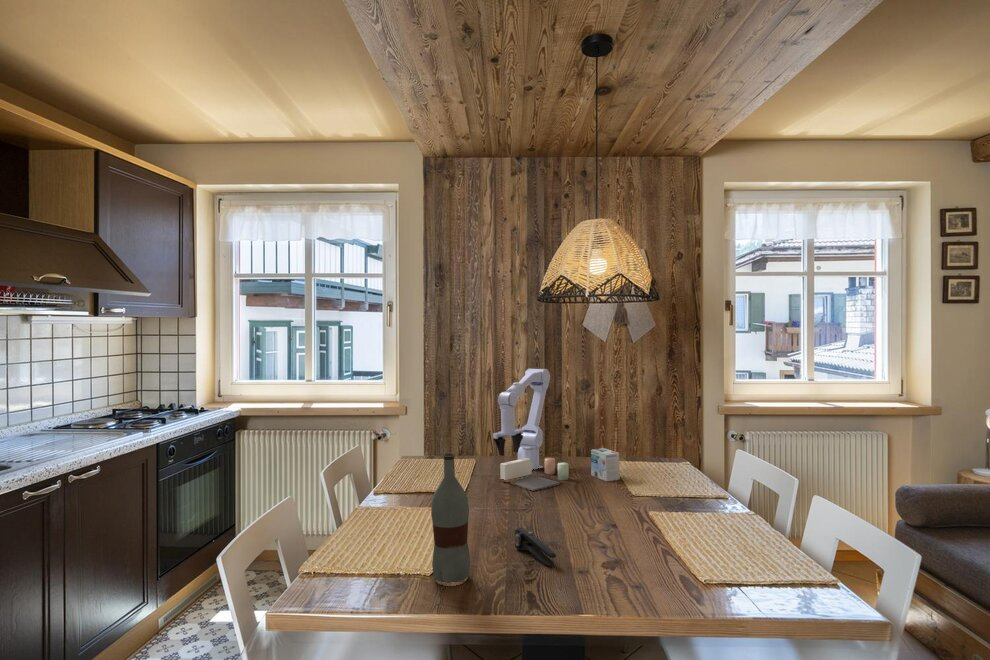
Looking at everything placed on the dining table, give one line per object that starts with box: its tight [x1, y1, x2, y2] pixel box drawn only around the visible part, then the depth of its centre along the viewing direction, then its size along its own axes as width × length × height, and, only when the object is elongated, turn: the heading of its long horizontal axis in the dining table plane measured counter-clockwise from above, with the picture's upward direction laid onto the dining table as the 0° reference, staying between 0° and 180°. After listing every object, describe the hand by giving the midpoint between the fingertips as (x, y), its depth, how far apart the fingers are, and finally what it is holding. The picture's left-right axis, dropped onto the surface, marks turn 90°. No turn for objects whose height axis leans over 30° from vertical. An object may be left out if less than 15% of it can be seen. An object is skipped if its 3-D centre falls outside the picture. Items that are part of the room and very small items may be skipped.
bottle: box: [430, 453, 471, 583], centre depth 126 cm, size 9×9×30 cm
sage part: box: [557, 462, 570, 481], centre depth 210 cm, size 4×4×6 cm
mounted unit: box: [499, 458, 534, 480], centre depth 212 cm, size 4×15×7 cm, turn 128°
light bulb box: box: [590, 447, 621, 482], centre depth 211 cm, size 11×7×11 cm, turn 25°
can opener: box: [514, 526, 557, 568], centre depth 138 cm, size 18×7×6 cm, turn 26°
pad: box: [515, 475, 561, 492], centre depth 203 cm, size 14×14×1 cm
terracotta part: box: [544, 457, 556, 475], centre depth 220 cm, size 4×4×6 cm
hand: (508, 453), depth 216 cm, fingers open, 7 cm apart
